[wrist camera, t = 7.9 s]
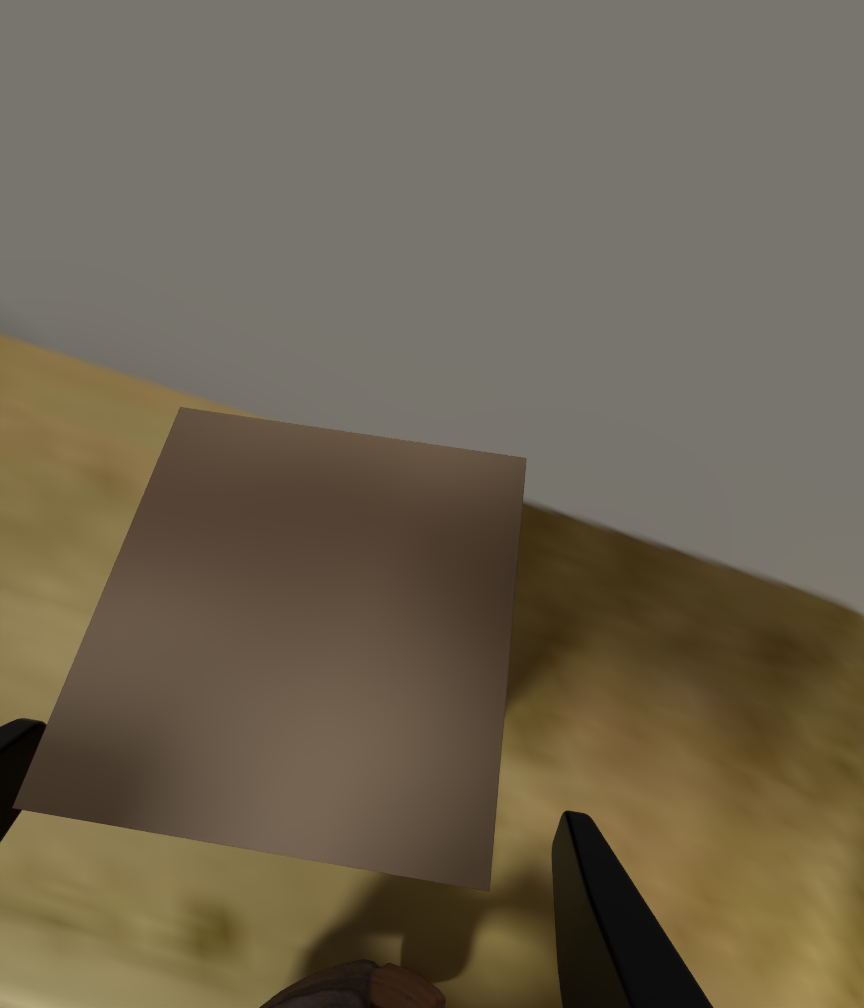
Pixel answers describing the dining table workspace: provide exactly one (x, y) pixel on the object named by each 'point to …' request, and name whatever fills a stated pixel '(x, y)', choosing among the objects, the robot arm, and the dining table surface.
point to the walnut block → (300, 652)
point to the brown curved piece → (360, 989)
